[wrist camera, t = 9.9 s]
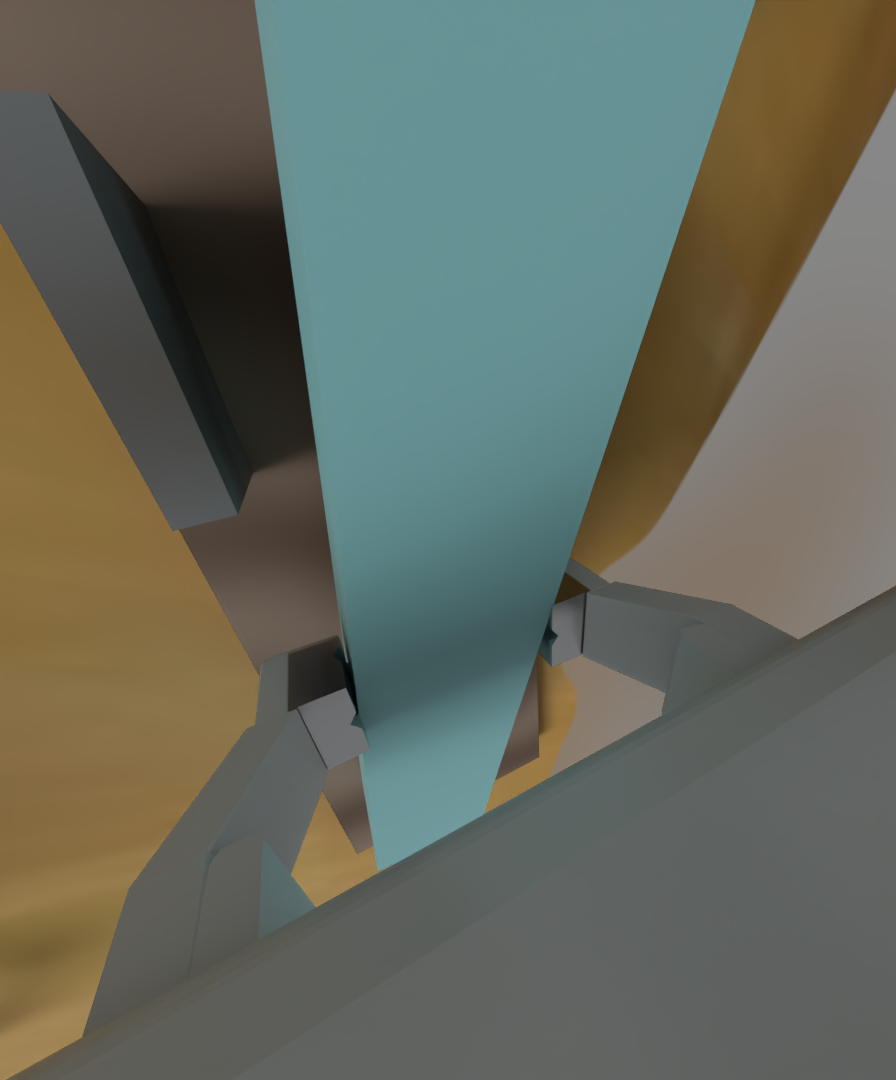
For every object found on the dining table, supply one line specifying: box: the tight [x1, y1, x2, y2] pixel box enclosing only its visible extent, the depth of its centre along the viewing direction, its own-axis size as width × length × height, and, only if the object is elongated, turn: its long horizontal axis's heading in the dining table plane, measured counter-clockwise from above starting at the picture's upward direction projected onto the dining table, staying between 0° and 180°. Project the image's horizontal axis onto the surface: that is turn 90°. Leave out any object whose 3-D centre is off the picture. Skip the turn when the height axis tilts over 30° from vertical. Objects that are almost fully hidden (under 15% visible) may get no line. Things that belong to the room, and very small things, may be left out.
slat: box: [254, 0, 756, 871], centre depth 9 cm, size 20×4×3 cm, turn 179°
